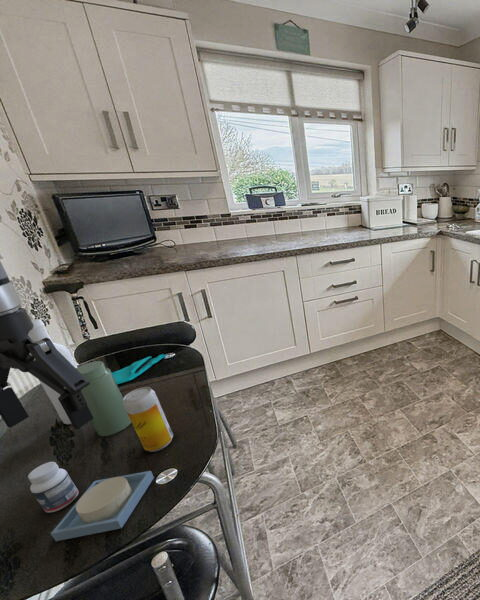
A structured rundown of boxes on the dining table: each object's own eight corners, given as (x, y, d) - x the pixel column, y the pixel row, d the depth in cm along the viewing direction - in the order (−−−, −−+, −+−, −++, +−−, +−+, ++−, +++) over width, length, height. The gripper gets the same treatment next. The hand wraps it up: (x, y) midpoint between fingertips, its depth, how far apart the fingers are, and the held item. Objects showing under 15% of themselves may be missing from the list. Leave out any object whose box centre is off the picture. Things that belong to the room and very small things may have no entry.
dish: (55, 541, 60) (50, 533, 59) (98, 487, 70) (94, 480, 69) (121, 528, 61) (117, 520, 60) (154, 477, 71) (150, 470, 71)
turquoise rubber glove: (75, 401, 101) (71, 395, 101) (76, 383, 111) (73, 378, 110) (172, 366, 117) (170, 360, 116) (166, 353, 127) (164, 348, 126)
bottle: (56, 422, 92) (0, 327, 81) (87, 404, 99) (40, 314, 88) (74, 426, 90) (19, 329, 79) (105, 407, 97) (59, 316, 86)
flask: (90, 438, 85) (57, 378, 78) (110, 418, 92) (81, 362, 85) (122, 433, 86) (92, 373, 79) (139, 414, 93) (113, 357, 86)
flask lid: (77, 510, 65) (71, 499, 64) (125, 480, 70) (120, 470, 69) (88, 532, 60) (81, 521, 59) (138, 498, 66) (132, 488, 65)
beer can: (144, 443, 81) (120, 394, 76) (172, 430, 85) (151, 382, 80) (145, 457, 77) (121, 406, 72) (175, 443, 80) (154, 393, 75)
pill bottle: (41, 505, 67) (20, 473, 64) (75, 485, 71) (56, 455, 68) (48, 518, 64) (25, 485, 61) (82, 497, 68) (63, 465, 65)
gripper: (-114, 326, 49) (-35, 436, 56) (29, 323, 46) (91, 440, 53) (-45, 306, 56) (16, 407, 63) (83, 303, 53) (131, 409, 60)
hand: (51, 422), depth 58 cm, fingers open, 13 cm apart
